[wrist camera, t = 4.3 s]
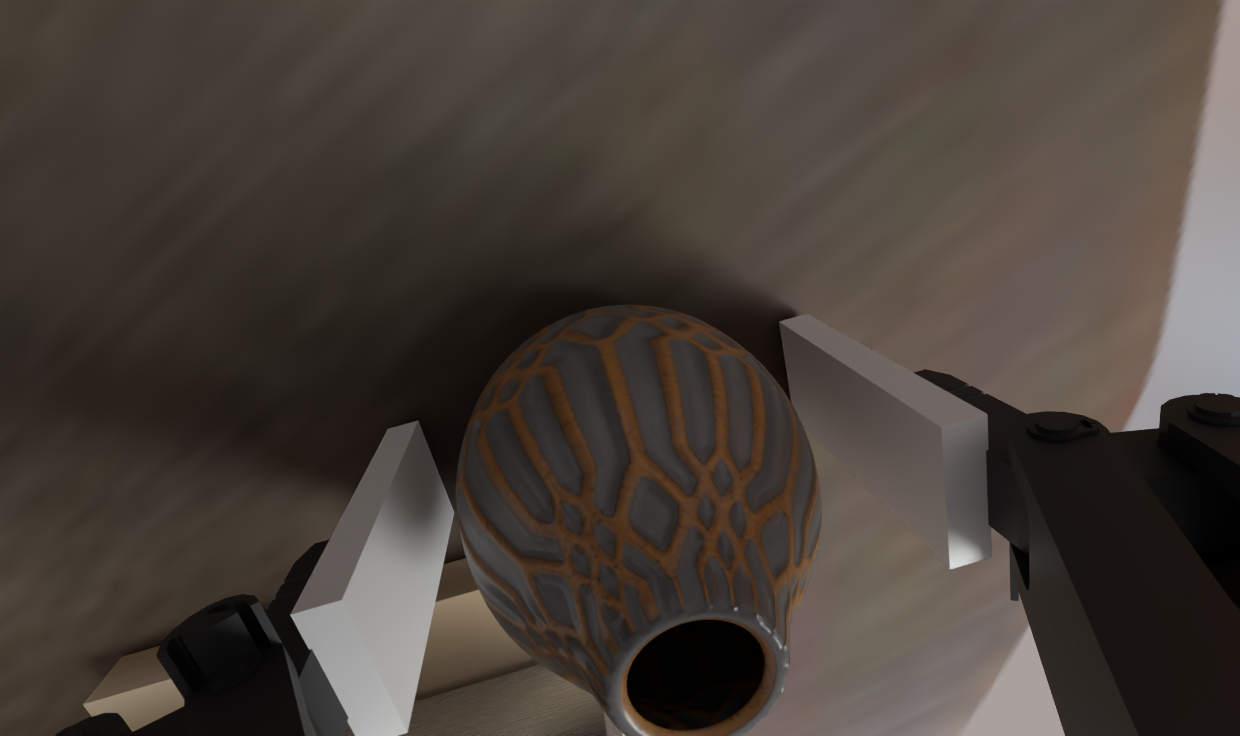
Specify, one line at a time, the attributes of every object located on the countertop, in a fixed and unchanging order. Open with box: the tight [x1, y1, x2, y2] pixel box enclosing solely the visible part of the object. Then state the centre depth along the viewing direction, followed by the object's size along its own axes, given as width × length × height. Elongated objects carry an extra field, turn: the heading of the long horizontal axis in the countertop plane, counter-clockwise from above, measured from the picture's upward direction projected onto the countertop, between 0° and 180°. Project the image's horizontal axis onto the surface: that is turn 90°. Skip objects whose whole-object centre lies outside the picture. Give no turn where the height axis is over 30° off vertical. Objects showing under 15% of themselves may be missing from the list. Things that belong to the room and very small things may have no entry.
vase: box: [456, 305, 821, 736], centre depth 12 cm, size 7×7×9 cm
